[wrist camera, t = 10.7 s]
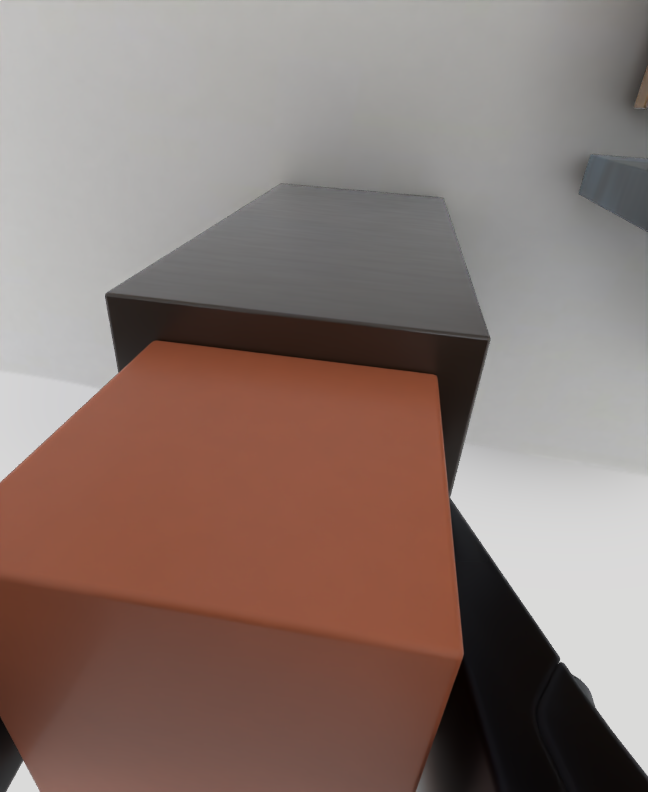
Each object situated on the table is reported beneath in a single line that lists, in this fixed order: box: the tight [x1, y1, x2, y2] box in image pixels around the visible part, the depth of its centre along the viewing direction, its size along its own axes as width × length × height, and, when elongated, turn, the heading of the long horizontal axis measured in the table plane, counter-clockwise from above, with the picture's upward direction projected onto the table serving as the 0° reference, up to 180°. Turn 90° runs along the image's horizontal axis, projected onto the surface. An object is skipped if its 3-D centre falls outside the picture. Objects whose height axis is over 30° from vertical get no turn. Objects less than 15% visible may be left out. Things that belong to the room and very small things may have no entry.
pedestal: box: [105, 184, 490, 497], centre depth 14 cm, size 6×6×12 cm
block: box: [0, 340, 464, 792], centre depth 7 cm, size 5×5×5 cm
